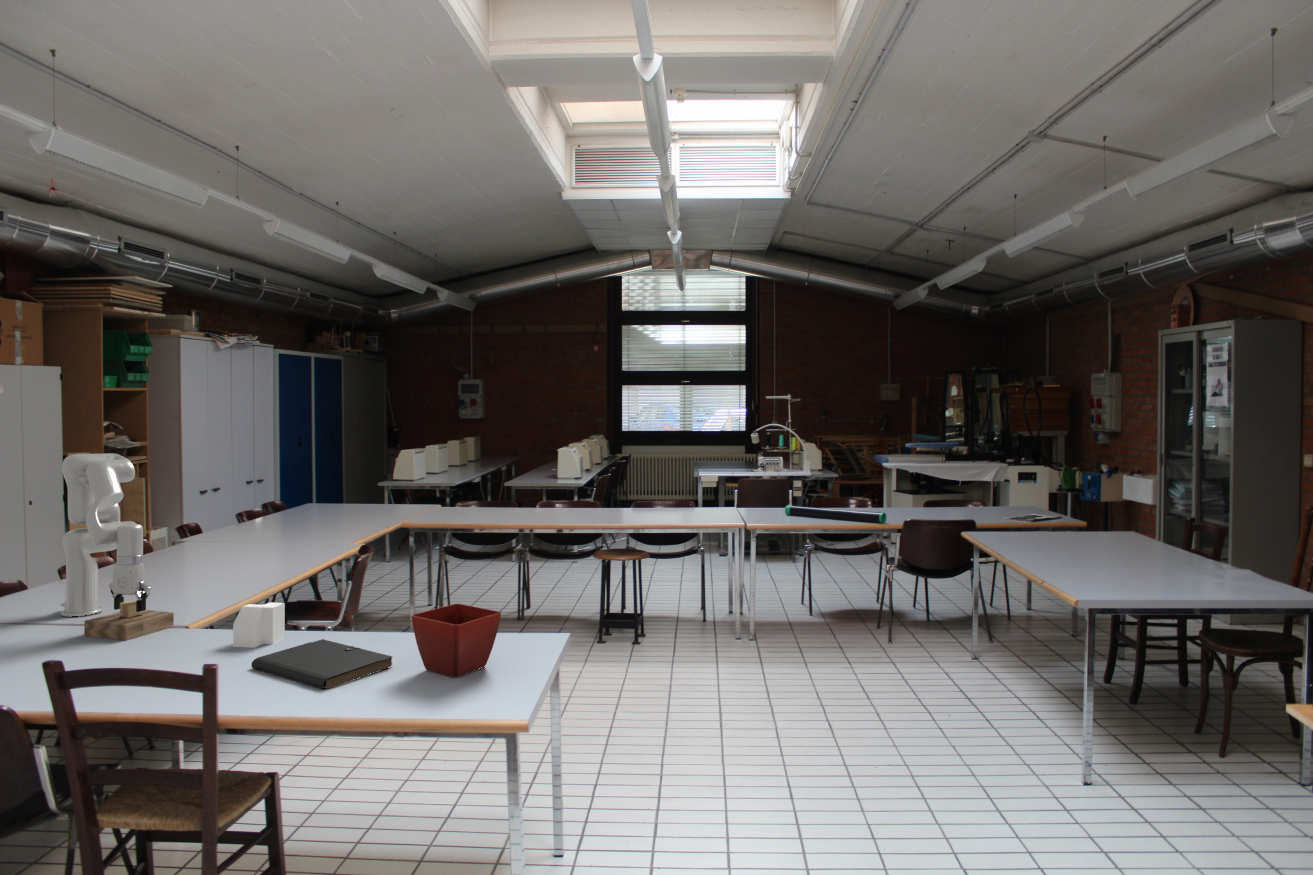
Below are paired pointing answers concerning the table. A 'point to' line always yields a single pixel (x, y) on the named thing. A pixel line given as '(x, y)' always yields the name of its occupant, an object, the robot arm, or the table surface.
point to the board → (128, 625)
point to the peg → (128, 610)
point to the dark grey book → (322, 663)
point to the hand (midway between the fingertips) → (129, 609)
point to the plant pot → (455, 638)
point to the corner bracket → (259, 625)
